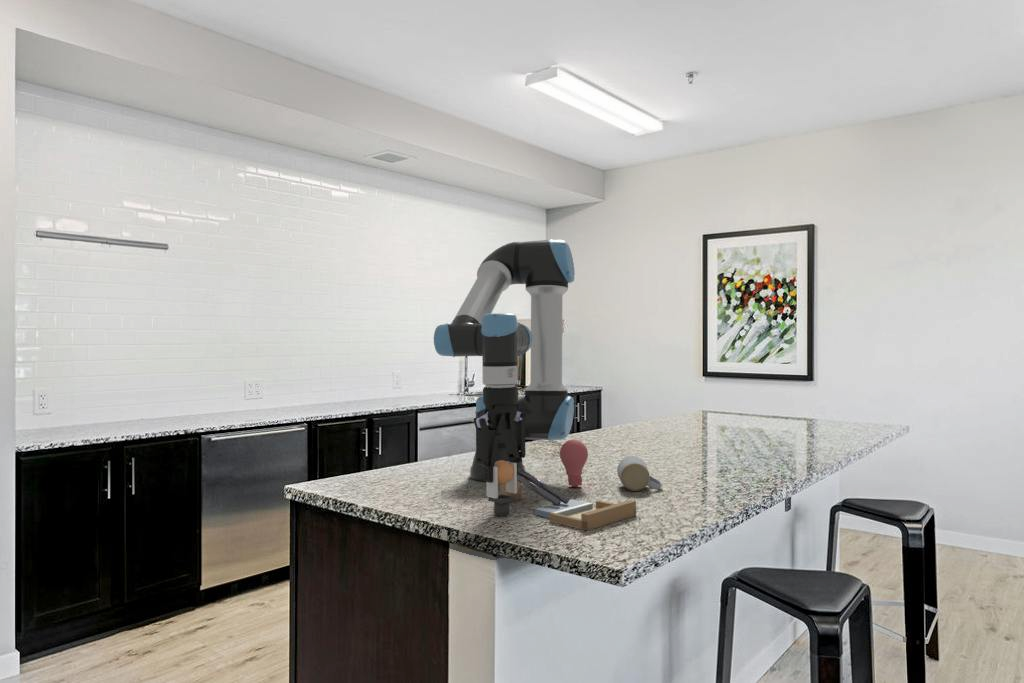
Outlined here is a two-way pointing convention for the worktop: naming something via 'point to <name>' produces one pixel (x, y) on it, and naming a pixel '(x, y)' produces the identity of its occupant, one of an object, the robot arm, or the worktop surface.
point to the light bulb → (574, 460)
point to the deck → (564, 508)
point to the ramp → (535, 488)
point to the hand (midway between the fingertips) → (502, 494)
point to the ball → (504, 471)
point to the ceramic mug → (636, 474)
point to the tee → (501, 504)
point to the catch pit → (597, 515)
